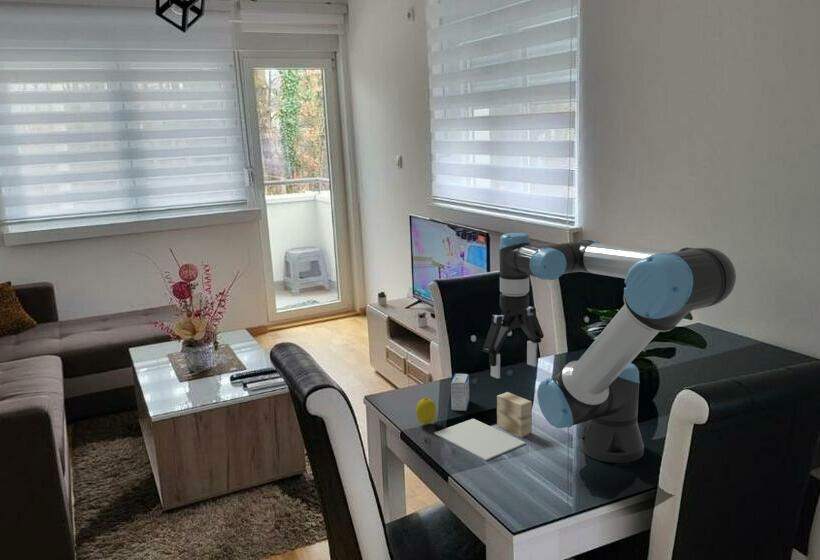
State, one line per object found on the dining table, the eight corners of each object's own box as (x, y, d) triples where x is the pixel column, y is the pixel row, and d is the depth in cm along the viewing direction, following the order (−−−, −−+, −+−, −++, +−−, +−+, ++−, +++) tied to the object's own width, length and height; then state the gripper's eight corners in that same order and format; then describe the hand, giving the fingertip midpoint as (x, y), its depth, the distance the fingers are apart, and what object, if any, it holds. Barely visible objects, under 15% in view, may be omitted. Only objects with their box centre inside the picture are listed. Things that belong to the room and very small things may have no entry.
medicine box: (466, 411, 192) (465, 383, 190) (451, 410, 193) (450, 382, 191) (469, 400, 200) (469, 373, 198) (454, 400, 200) (454, 373, 199)
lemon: (413, 422, 185) (412, 395, 184) (431, 419, 187) (431, 392, 186) (420, 430, 180) (419, 402, 179) (439, 426, 182) (438, 399, 181)
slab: (531, 433, 176) (531, 401, 175) (521, 437, 174) (521, 405, 172) (507, 422, 184) (507, 391, 182) (497, 426, 181) (496, 395, 179)
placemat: (525, 444, 170) (525, 442, 170) (485, 460, 162) (485, 459, 162) (473, 419, 186) (473, 418, 186) (434, 433, 178) (434, 432, 178)
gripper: (536, 283, 181) (535, 357, 186) (468, 298, 166) (469, 378, 171) (557, 287, 175) (556, 363, 180) (489, 304, 161) (489, 386, 165)
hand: (513, 371), depth 175 cm, fingers open, 13 cm apart
